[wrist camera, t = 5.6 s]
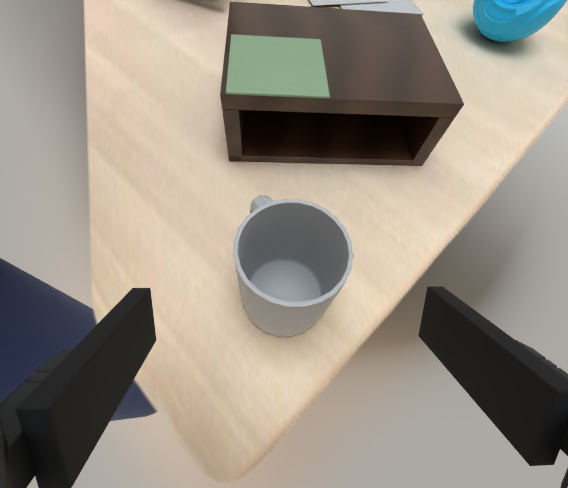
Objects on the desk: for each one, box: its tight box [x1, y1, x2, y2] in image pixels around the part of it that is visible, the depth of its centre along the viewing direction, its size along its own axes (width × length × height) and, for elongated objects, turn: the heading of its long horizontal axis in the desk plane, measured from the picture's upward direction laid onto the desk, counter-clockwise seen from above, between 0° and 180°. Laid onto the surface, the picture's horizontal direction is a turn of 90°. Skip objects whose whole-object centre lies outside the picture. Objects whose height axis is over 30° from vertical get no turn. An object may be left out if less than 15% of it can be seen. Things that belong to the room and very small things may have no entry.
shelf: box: [220, 2, 464, 166], centre depth 33 cm, size 22×16×8 cm
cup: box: [233, 195, 354, 336], centre depth 22 cm, size 7×10×9 cm
